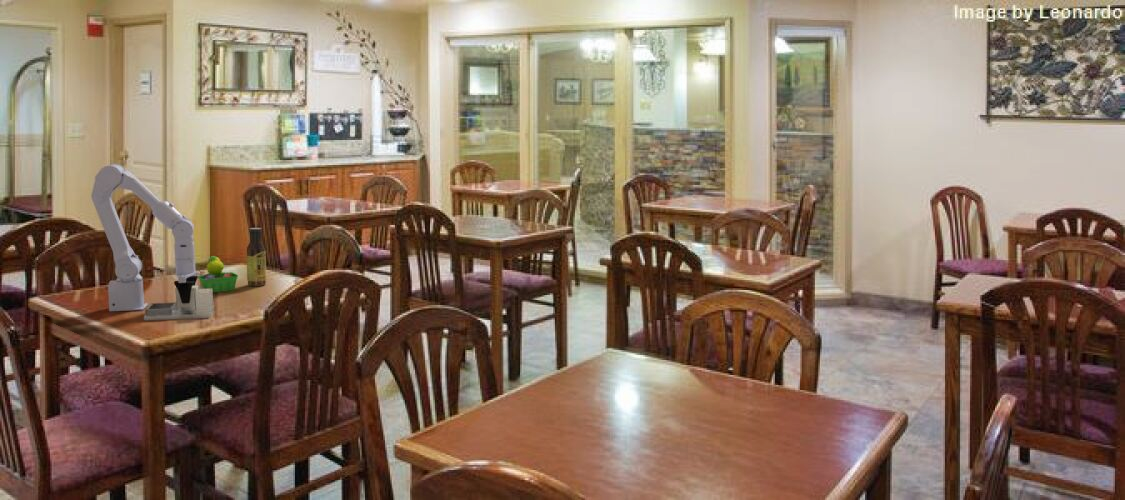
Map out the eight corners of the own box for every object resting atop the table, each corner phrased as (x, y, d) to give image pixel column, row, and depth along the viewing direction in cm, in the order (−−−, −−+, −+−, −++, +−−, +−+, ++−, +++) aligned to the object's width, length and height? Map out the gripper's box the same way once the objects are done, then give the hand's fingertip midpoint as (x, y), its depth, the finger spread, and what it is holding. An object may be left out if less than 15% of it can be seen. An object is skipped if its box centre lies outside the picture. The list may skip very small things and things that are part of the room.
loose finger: (196, 306, 282) (195, 288, 281) (176, 307, 281) (175, 288, 280) (199, 303, 287) (198, 285, 286) (178, 304, 285) (177, 285, 284)
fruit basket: (204, 294, 300) (202, 260, 298) (197, 289, 307) (195, 256, 305) (239, 290, 307) (237, 257, 305) (231, 286, 314) (230, 253, 312)
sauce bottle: (260, 287, 312) (258, 230, 309) (243, 286, 313) (241, 229, 310) (270, 283, 318) (268, 227, 315) (253, 282, 319) (251, 226, 316)
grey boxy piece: (144, 320, 264) (142, 296, 263) (151, 312, 274) (149, 289, 273) (209, 317, 268) (208, 294, 267) (214, 310, 278) (213, 287, 277)
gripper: (194, 261, 275) (197, 305, 277) (202, 253, 289) (204, 295, 291) (169, 262, 274) (172, 306, 276) (178, 254, 287) (181, 296, 290)
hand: (187, 301), depth 283 cm, fingers open, 5 cm apart
